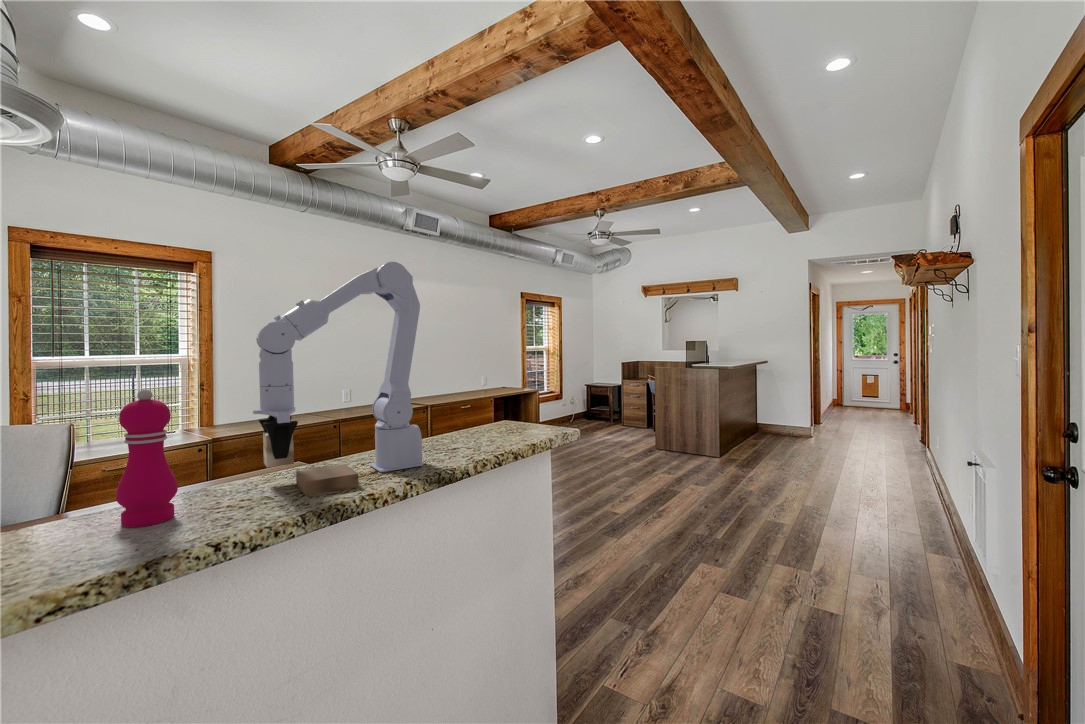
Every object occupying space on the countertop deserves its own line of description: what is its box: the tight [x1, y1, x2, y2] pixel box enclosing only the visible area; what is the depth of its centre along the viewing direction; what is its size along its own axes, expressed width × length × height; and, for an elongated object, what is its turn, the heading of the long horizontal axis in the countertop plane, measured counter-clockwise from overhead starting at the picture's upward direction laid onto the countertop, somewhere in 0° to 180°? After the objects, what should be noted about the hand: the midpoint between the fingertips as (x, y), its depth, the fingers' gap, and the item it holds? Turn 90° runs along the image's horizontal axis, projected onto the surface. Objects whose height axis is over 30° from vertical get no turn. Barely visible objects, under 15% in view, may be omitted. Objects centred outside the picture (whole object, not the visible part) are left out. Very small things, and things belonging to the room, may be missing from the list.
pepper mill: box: [115, 388, 179, 528], centre depth 72 cm, size 7×7×20 cm
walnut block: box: [295, 463, 359, 497], centre depth 90 cm, size 9×9×3 cm
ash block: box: [262, 431, 295, 468], centre depth 92 cm, size 4×4×6 cm
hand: (278, 455), depth 92 cm, fingers closed on ash block, 4 cm apart
